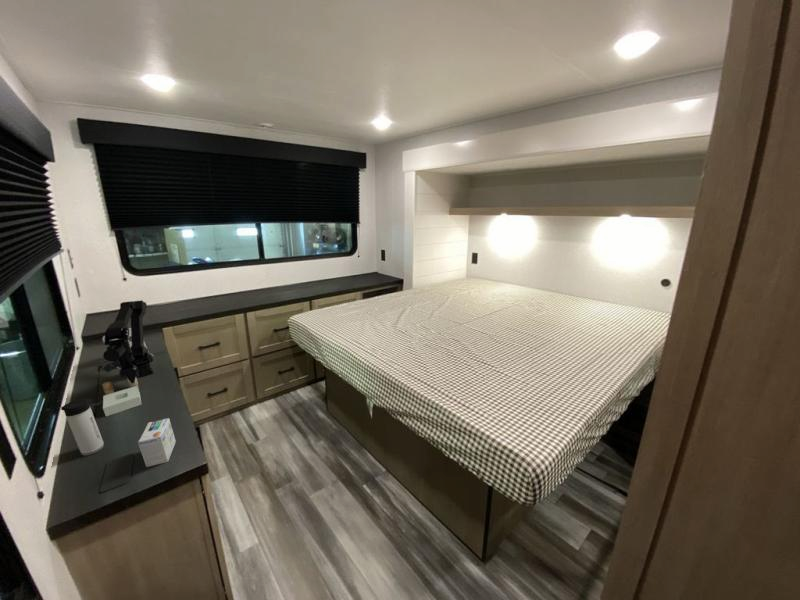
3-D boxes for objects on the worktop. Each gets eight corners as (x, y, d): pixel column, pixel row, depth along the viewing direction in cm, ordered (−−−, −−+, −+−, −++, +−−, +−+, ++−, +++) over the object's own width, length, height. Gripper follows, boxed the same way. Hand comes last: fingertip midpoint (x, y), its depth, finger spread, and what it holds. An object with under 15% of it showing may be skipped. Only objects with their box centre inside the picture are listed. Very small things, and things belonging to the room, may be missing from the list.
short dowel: (106, 394, 152) (102, 383, 150) (114, 391, 154) (111, 380, 152) (106, 397, 149) (101, 386, 147) (115, 394, 151) (111, 383, 149)
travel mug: (77, 452, 116) (57, 405, 110) (99, 441, 122) (82, 395, 116) (84, 458, 114) (65, 410, 107) (107, 446, 119) (90, 400, 113)
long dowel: (130, 387, 157) (124, 368, 154) (138, 384, 159) (133, 366, 156) (130, 389, 155) (124, 371, 152) (139, 387, 157) (133, 369, 154)
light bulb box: (155, 446, 119) (147, 421, 115) (176, 441, 121) (169, 417, 118) (145, 468, 109) (136, 442, 106) (168, 462, 111) (160, 436, 108)
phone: (98, 493, 100) (107, 461, 112) (99, 495, 100) (108, 463, 112) (129, 481, 103) (134, 452, 115) (129, 483, 104) (135, 454, 116)
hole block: (106, 403, 145) (103, 395, 143) (139, 393, 152) (137, 385, 151) (105, 416, 136) (102, 408, 135) (141, 404, 143) (139, 396, 142)
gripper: (100, 350, 153) (110, 379, 158) (100, 364, 139) (110, 395, 144) (130, 343, 160) (139, 371, 165) (132, 356, 146) (142, 386, 151)
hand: (132, 380), depth 156 cm, fingers open, 5 cm apart
